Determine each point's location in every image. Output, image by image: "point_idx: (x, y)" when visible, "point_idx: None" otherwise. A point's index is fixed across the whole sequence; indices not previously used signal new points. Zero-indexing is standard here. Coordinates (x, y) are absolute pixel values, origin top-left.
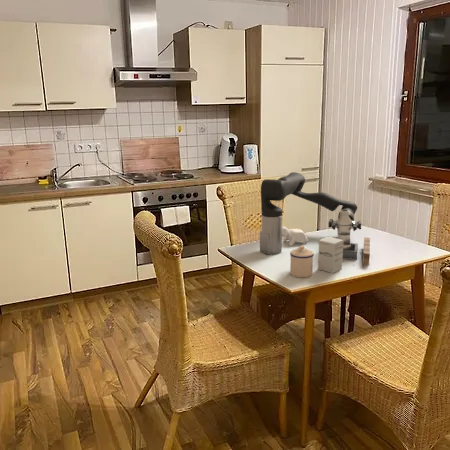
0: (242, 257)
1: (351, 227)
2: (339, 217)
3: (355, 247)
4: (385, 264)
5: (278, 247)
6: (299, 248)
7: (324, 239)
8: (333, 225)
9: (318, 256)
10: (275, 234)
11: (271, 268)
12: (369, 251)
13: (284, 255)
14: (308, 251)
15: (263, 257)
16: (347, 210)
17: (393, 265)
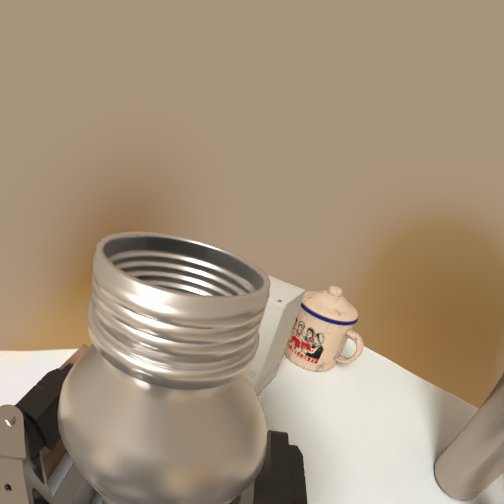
0: (469, 413)
1: (49, 496)
2: (247, 378)
3: (79, 478)
4: (30, 367)
5: (449, 450)
6: (339, 296)
7: (290, 290)
8: (285, 433)
9: (287, 341)
10: (484, 402)
11: (383, 377)
12: (67, 361)
13: (412, 461)
14: (314, 294)
15: (442, 428)
16: (105, 270)
17: (15, 353)
